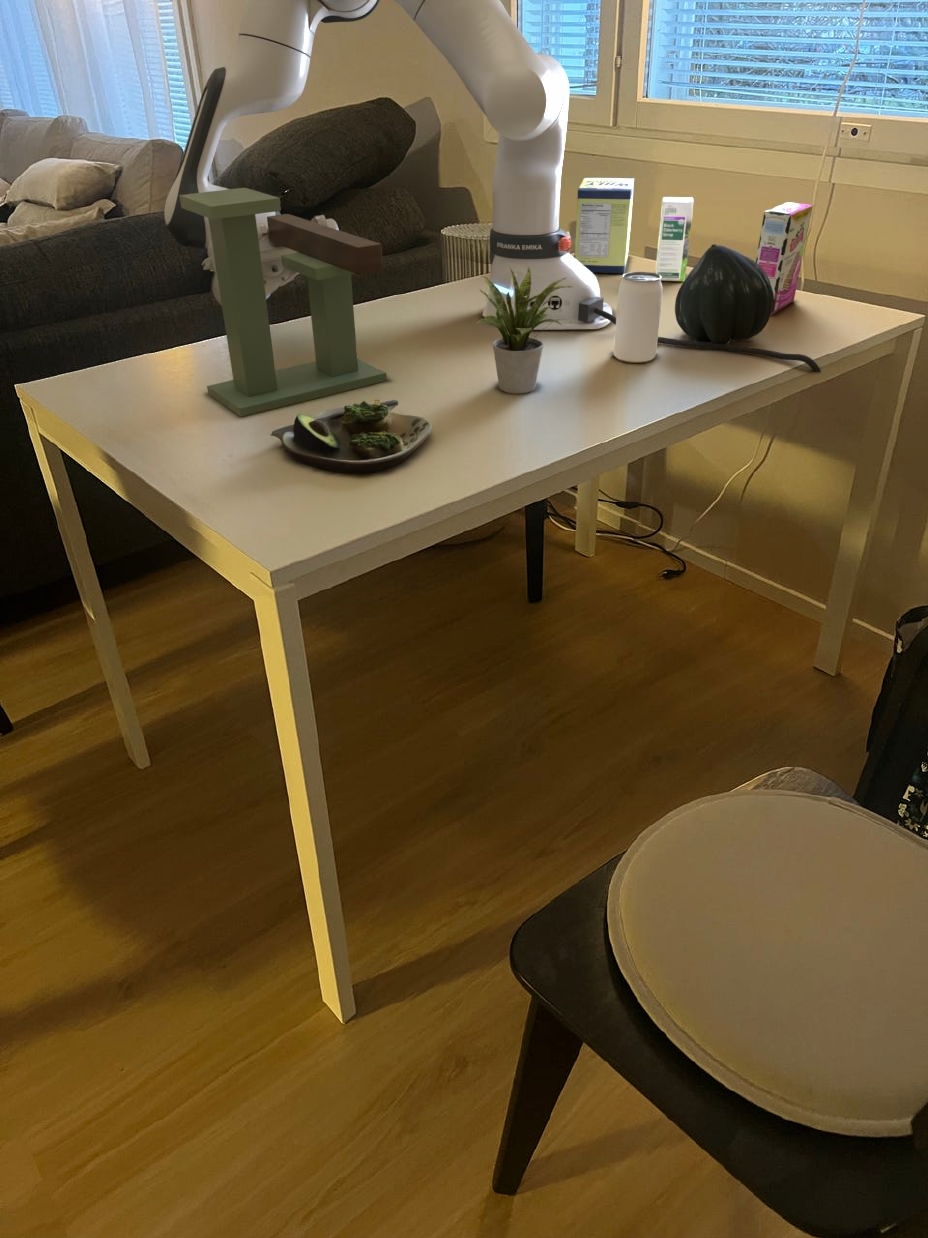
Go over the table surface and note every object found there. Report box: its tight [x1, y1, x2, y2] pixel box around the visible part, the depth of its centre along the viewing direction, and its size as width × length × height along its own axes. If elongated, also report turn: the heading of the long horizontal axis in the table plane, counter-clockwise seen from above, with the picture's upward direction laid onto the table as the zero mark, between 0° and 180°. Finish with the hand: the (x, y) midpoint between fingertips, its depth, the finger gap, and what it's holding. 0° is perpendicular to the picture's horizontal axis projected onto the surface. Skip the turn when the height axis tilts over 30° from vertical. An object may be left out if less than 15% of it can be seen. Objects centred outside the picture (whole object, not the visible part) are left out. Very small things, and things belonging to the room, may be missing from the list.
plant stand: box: [179, 187, 388, 418], centre depth 125 cm, size 11×23×26 cm, turn 126°
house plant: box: [474, 268, 571, 394], centre depth 126 cm, size 14×14×16 cm
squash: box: [674, 243, 774, 344], centre depth 146 cm, size 14×15×15 cm
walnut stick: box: [267, 213, 384, 277], centre depth 126 cm, size 26×3×3 cm, turn 36°
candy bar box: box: [755, 201, 814, 316], centre depth 160 cm, size 11×5×16 cm, turn 144°
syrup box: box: [654, 196, 694, 282], centre depth 178 cm, size 6×6×14 cm
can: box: [613, 271, 664, 364], centre depth 139 cm, size 6×6×12 cm
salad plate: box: [270, 399, 433, 474], centre depth 115 cm, size 19×18×5 cm
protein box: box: [574, 176, 635, 274], centre depth 187 cm, size 10×16×16 cm
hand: (292, 224), depth 131 cm, fingers open, 8 cm apart
